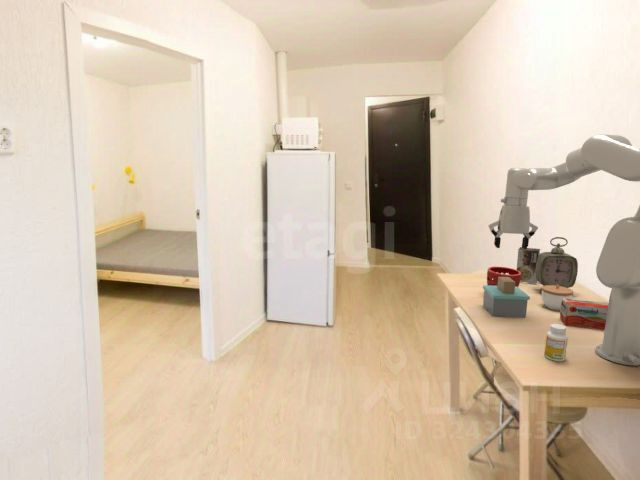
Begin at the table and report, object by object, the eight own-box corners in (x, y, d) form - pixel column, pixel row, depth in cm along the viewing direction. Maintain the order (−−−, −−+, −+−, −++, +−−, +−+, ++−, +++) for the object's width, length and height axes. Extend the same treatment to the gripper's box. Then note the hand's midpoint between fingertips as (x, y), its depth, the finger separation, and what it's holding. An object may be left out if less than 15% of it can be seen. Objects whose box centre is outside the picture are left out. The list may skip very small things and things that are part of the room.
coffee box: (537, 281, 205) (540, 248, 202) (535, 284, 200) (539, 251, 197) (516, 278, 210) (520, 246, 207) (514, 281, 205) (518, 248, 202)
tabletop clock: (538, 294, 185) (544, 238, 180) (531, 288, 194) (537, 234, 189) (574, 296, 182) (581, 239, 178) (566, 290, 191) (573, 235, 186)
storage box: (525, 317, 157) (527, 299, 155) (492, 316, 158) (493, 298, 157) (514, 306, 168) (515, 289, 167) (483, 305, 170) (484, 288, 168)
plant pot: (486, 300, 176) (488, 272, 174) (484, 291, 188) (486, 265, 186) (520, 303, 172) (523, 275, 170) (516, 294, 185) (518, 267, 182)
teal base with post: (529, 303, 155) (531, 284, 154) (492, 301, 156) (494, 283, 155) (516, 292, 168) (518, 275, 167) (482, 291, 169) (484, 274, 168)
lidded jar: (575, 313, 162) (578, 289, 160) (544, 311, 164) (547, 287, 162) (564, 304, 172) (567, 282, 170) (536, 302, 174) (539, 280, 173)
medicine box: (605, 323, 153) (608, 301, 152) (614, 331, 145) (617, 309, 144) (558, 318, 157) (561, 297, 156) (564, 326, 150) (567, 304, 148)
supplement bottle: (551, 352, 128) (555, 321, 127) (569, 359, 124) (573, 327, 122) (540, 355, 126) (543, 324, 124) (557, 363, 121) (561, 331, 119)
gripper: (494, 202, 152) (489, 249, 156) (544, 204, 151) (538, 251, 154) (488, 200, 160) (484, 245, 163) (536, 201, 158) (530, 246, 161)
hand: (510, 247), depth 159 cm, fingers open, 9 cm apart
